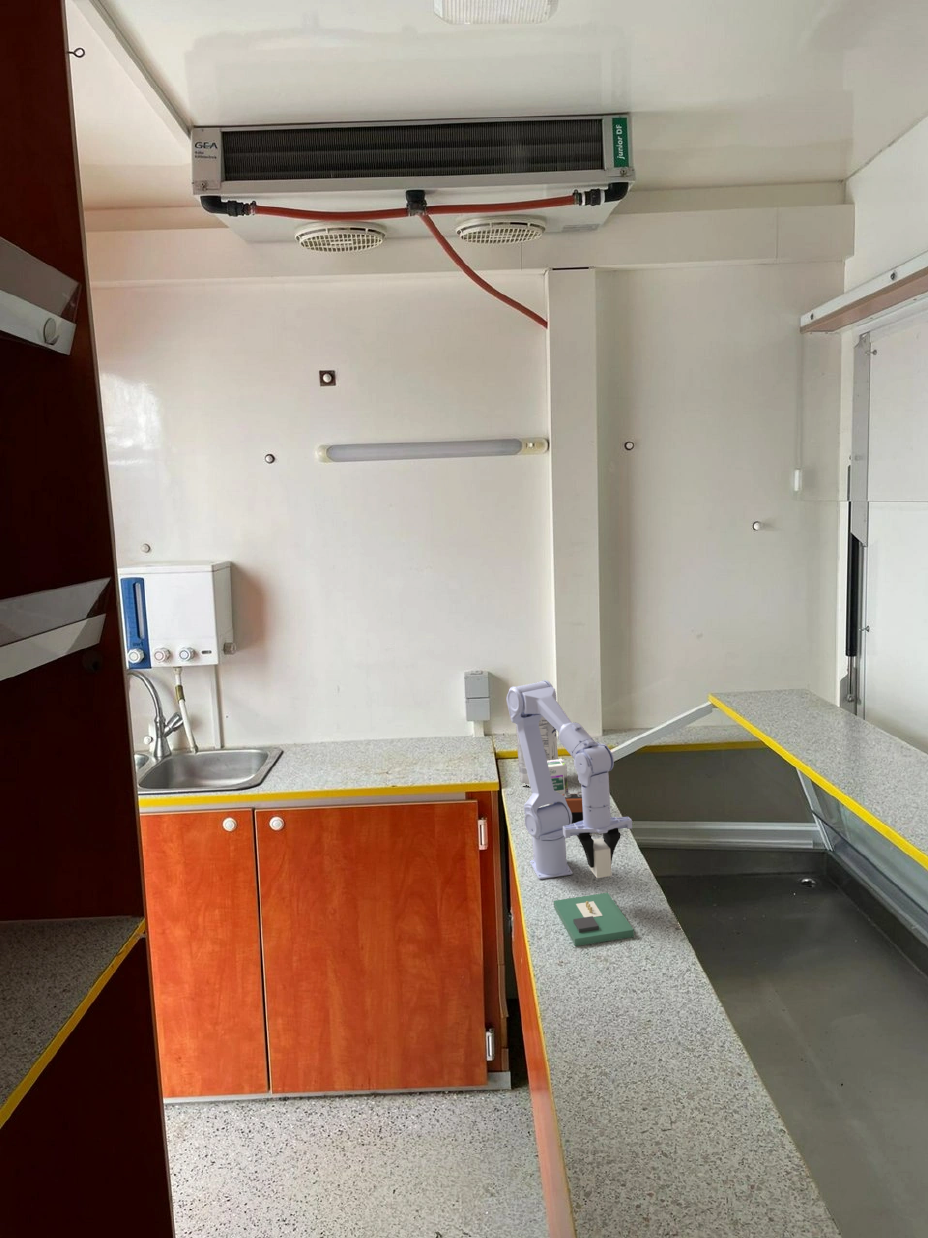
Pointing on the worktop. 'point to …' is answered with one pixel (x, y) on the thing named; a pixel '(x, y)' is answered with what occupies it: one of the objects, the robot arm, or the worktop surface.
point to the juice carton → (548, 742)
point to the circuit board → (593, 919)
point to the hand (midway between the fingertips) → (599, 864)
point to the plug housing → (601, 859)
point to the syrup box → (558, 776)
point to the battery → (575, 806)
